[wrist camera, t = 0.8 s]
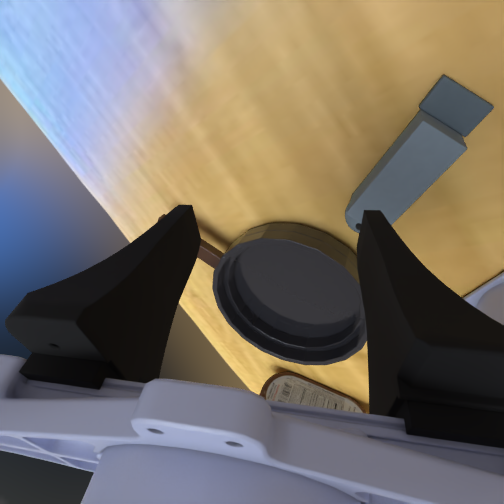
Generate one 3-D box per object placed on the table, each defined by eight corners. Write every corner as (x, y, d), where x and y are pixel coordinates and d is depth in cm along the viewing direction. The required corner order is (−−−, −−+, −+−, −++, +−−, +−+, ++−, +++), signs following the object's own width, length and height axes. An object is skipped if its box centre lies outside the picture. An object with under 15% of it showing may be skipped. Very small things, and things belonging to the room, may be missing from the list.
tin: (269, 371, 47) (246, 425, 41) (272, 359, 45) (249, 414, 39) (371, 416, 43) (364, 483, 37) (379, 405, 41) (373, 474, 35)
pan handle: (226, 254, 34) (221, 259, 33) (220, 264, 35) (216, 270, 34) (164, 213, 34) (158, 217, 33) (160, 225, 35) (155, 229, 34)
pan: (414, 287, 30) (414, 313, 27) (317, 361, 41) (310, 384, 39) (263, 189, 30) (249, 204, 28) (208, 288, 42) (194, 306, 39)
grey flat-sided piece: (443, 73, 21) (448, 81, 18) (492, 105, 21) (505, 118, 18) (338, 205, 28) (330, 226, 26) (374, 229, 28) (369, 251, 26)
